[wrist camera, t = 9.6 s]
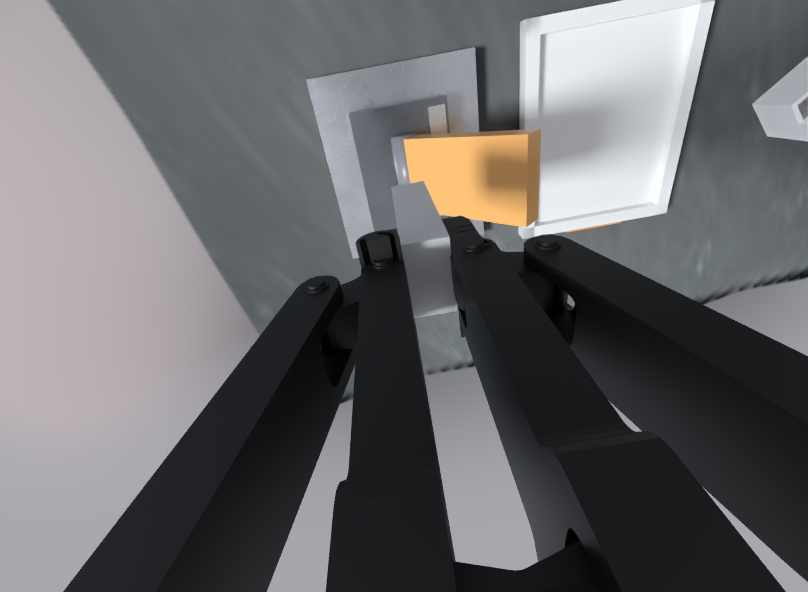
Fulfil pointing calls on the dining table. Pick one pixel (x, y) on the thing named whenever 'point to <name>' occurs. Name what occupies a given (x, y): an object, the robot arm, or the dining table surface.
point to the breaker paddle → (475, 172)
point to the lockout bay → (609, 107)
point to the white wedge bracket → (786, 106)
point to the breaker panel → (388, 127)
